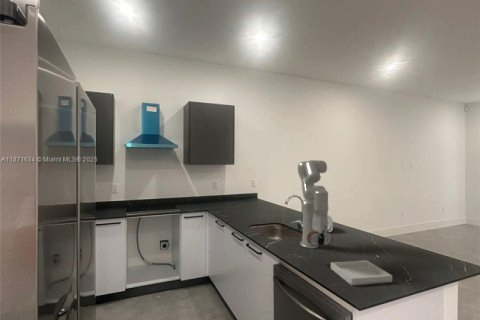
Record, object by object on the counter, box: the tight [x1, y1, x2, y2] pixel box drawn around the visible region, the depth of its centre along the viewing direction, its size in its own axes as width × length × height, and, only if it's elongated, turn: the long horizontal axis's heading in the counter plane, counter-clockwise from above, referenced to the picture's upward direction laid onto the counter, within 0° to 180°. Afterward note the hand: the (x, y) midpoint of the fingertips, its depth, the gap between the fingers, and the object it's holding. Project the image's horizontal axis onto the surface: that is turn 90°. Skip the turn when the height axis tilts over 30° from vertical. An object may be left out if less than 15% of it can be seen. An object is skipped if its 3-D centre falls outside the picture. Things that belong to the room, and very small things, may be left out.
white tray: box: [330, 259, 393, 286], centre depth 124 cm, size 18×22×3 cm
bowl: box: [327, 215, 334, 233], centre depth 205 cm, size 20×19×12 cm
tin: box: [307, 230, 333, 247], centre depth 139 cm, size 15×3×8 cm, turn 100°
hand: (319, 243), depth 140 cm, fingers closed on tin, 2 cm apart
